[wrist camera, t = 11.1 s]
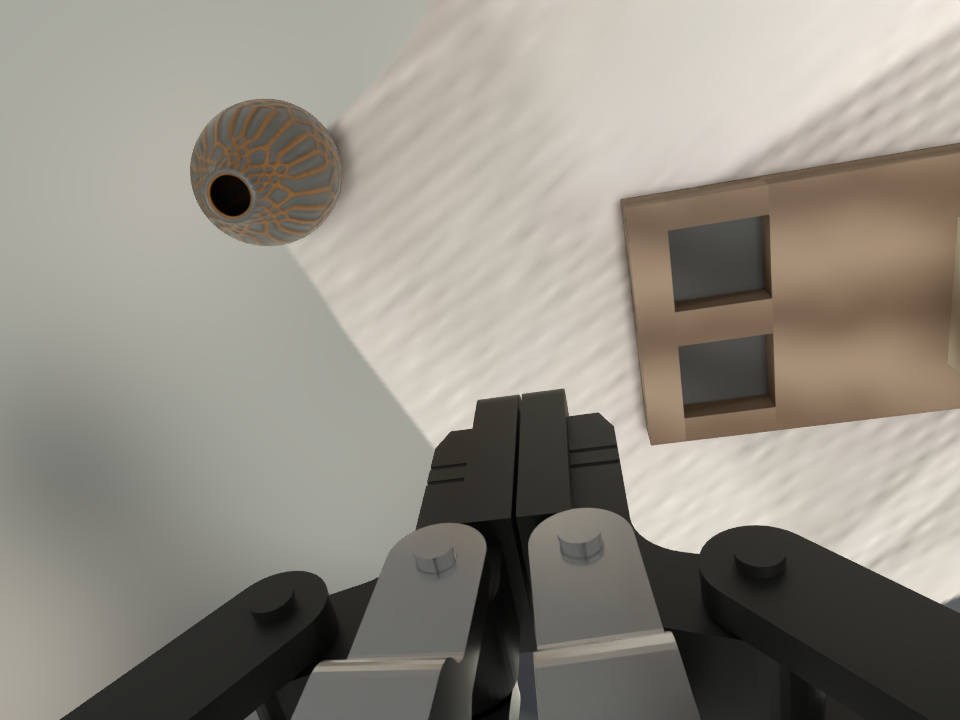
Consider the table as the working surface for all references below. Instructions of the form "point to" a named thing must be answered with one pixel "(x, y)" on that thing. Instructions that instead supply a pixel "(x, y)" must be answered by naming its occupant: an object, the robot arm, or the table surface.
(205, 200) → the vase
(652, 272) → the trap box
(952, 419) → the table surface
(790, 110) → the table surface
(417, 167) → the table surface
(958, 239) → the maple block
